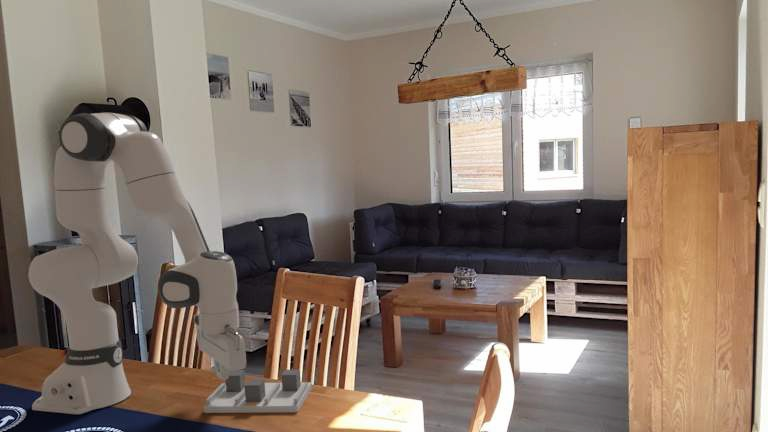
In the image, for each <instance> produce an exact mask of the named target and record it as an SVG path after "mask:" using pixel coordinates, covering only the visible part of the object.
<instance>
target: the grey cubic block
mask: <svg viewBox="0 0 768 432" xmlns="http://www.w3.org/2000/svg"><path fill="white" fill-rule="evenodd" d="M265 383H266V382H265V379H262V378H261V379H248V381H247V382H246V384H245V385H244V387H245V399H246V402H261V401H262V400H263V398H264V397H265V396H266V395H265Z"/></svg>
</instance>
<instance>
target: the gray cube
mask: <svg viewBox="0 0 768 432" xmlns="http://www.w3.org/2000/svg"><path fill="white" fill-rule="evenodd" d="M246 383H247V382H246V371H245V370H244V369H241V370H237V371H230V370H229V378H228V379H226V380H225V384H226V391H227V392H241V391H242V390H243V389H244V385H245V384H246Z"/></svg>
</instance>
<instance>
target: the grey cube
mask: <svg viewBox="0 0 768 432" xmlns="http://www.w3.org/2000/svg"><path fill="white" fill-rule="evenodd" d="M281 383H282V390H283V391H298V389H299V387H300V386H301V369H284V371H283V372H282V374H281Z"/></svg>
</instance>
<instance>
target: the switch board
mask: <svg viewBox="0 0 768 432" xmlns="http://www.w3.org/2000/svg"><path fill="white" fill-rule="evenodd" d="M312 389H313V385H312V381H311V382H310V381H309V382H307V381H304V382H303V381H302V382H301V386H300V387H299V389H298V391H283V390H282V382H265V395H266V396H265V397H264V398H263V400H262V401H261V402H246V399H245V387H244V389H243V390H242V391H241V392H227V391H226V382H223V383H220V384H219V386H218V387H217V388H216V389H215V390H214V391H213V392H212V393H211V394H210V395H209V396H208V397H207V398H206V399H205V405H204V406H203V413H204V414H208V413H209V414H212V413H213V414H214V413H215V414H217V413H218V414H222V413H224V414H225V413H227V414H229V413H231V414H233V413H234V414H236V413H237V414H239V413H240V414H241V413H246V414H248V413H250V414H252V413H257V414H258V413H260V414H261V413H262V414H263V413H299V411H300V410H301V407H302V406H303V404H304V402H305V401H306V399H307V397H308V396H309V394H310V392H311V391H312Z"/></svg>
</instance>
